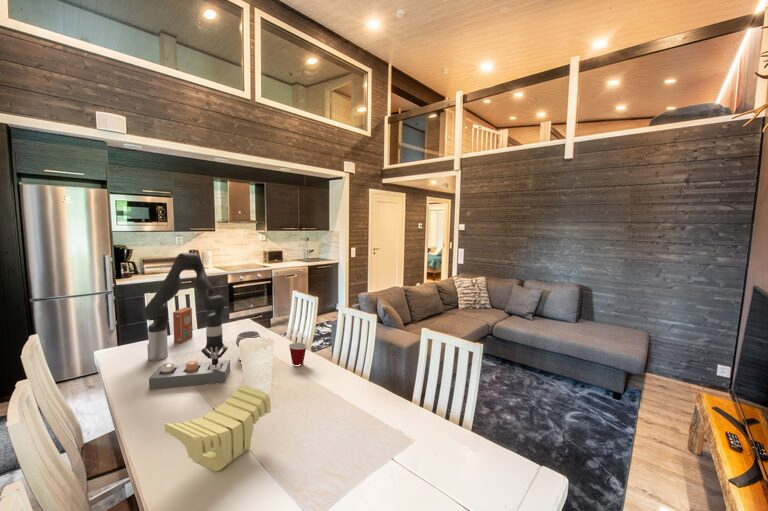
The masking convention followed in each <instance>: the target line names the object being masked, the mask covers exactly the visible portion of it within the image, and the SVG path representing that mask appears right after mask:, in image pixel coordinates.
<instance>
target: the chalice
mask: <svg viewBox="0 0 768 511" xmlns="http://www.w3.org/2000/svg"><path fill="white" fill-rule="evenodd" d="M257 337H260V338H261V336H260V333H259V332H258V331H251V330H250V331H244V332H241V333H239V334H238V335H237V337H236V341H235V345H236V346H237V347H238V348H239V342H240V340H242V339H245V338H257ZM237 361H240V356H238V358H237ZM240 362H241V361H240Z"/></svg>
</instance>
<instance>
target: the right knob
mask: <svg viewBox="0 0 768 511" xmlns="http://www.w3.org/2000/svg"><path fill="white" fill-rule="evenodd" d="M214 369H221V364H217V365H216V366H213V365H210V366H209V370H214Z"/></svg>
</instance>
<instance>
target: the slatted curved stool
mask: <svg viewBox="0 0 768 511" xmlns="http://www.w3.org/2000/svg"><path fill="white" fill-rule="evenodd" d="M213 410H214V411H212V410H211V411H210V412H208V413H205V415H202V417H201V416H200V417H197V418H195V419H191V420H190V421H183V422H181V423H180V422H175V423H164V432H165V433H166V434H169V435H170V436H173V437H174V438H175V439H177V440H178V441H179V442H180V443H181V444H182V445H183V446H184V448H185V449H186V453H187V457H188V458H190V459H191V460H193V461H195V462H198V463H200V464H202V465H203V466H205V467H208V469H209V468H210V469H211V470H213V471H214V472H215V471H216V472H217V471H220V470H222V469H224V468H225V467H227V465H229V464H230V463H231V462H233V461H234V460H235V459H237V458H238V457H240V456H241V455H242V454H244V453H245V452H246V451H247V450H249V449H251V444H252V437H253V432H254V425H256V424H257V423H258V421H259V420H260V418H263V416H265V415H266V414H269V413H271V399H270V396H269V394H267V393H266V392H265V391H262V390H261V389H260V390H259V389H256V388H255V387H252V386H248V385H244V384H242V383H241V384H240V385H239V386H238V387H237V389H236V390H234V391H233V393H232V394H231V395H230V396H229V397H228V398H226V399H225V401H224V402H222V403H220V405H218V406H217V407H216V408H215V409H213Z"/></svg>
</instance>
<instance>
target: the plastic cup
mask: <svg viewBox="0 0 768 511" xmlns="http://www.w3.org/2000/svg"><path fill="white" fill-rule="evenodd" d="M288 348H289V351H290V357H291V362H292V365H293V364H294V365H299V364H302V363H303V364H304V360H305V356H306V351H307V348H308V344H306V343H304V342H292V343H290V344H288Z"/></svg>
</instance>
